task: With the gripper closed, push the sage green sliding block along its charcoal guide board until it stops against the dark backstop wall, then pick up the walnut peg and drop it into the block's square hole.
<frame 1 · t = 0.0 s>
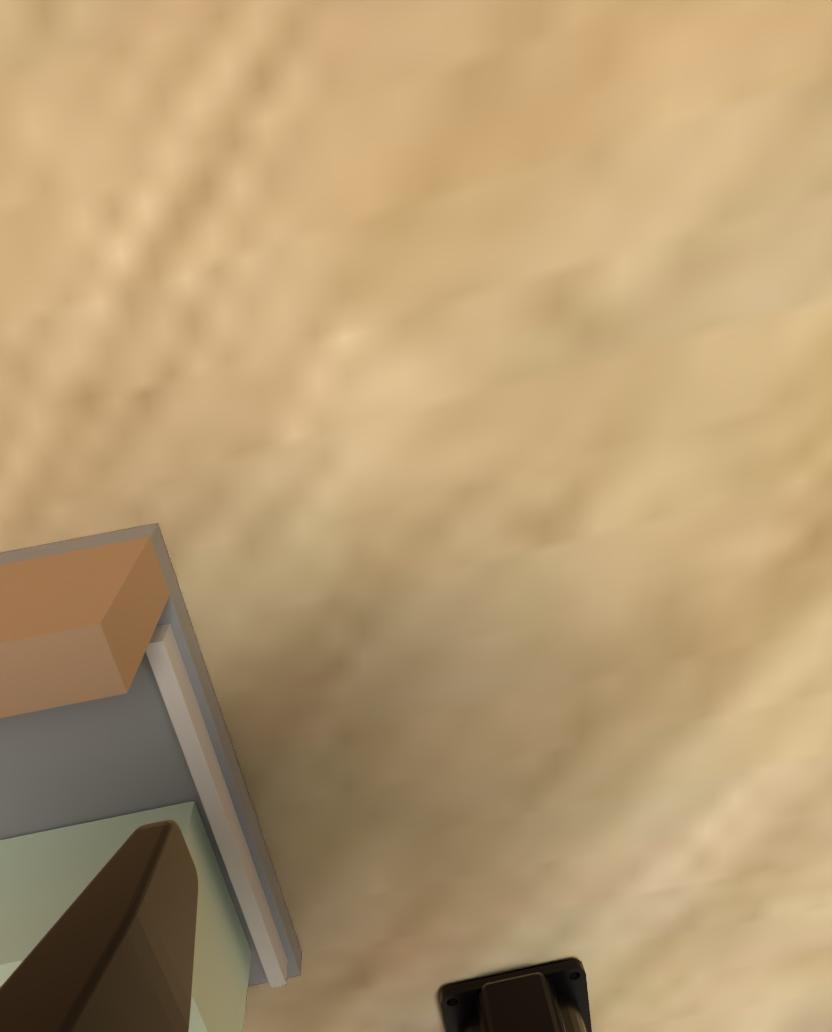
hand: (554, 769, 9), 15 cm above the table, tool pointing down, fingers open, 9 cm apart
guide board: (62, 805, 26), on the table
sliding block: (67, 974, 24), point 4 cm above the table, slide at 0.0 cm
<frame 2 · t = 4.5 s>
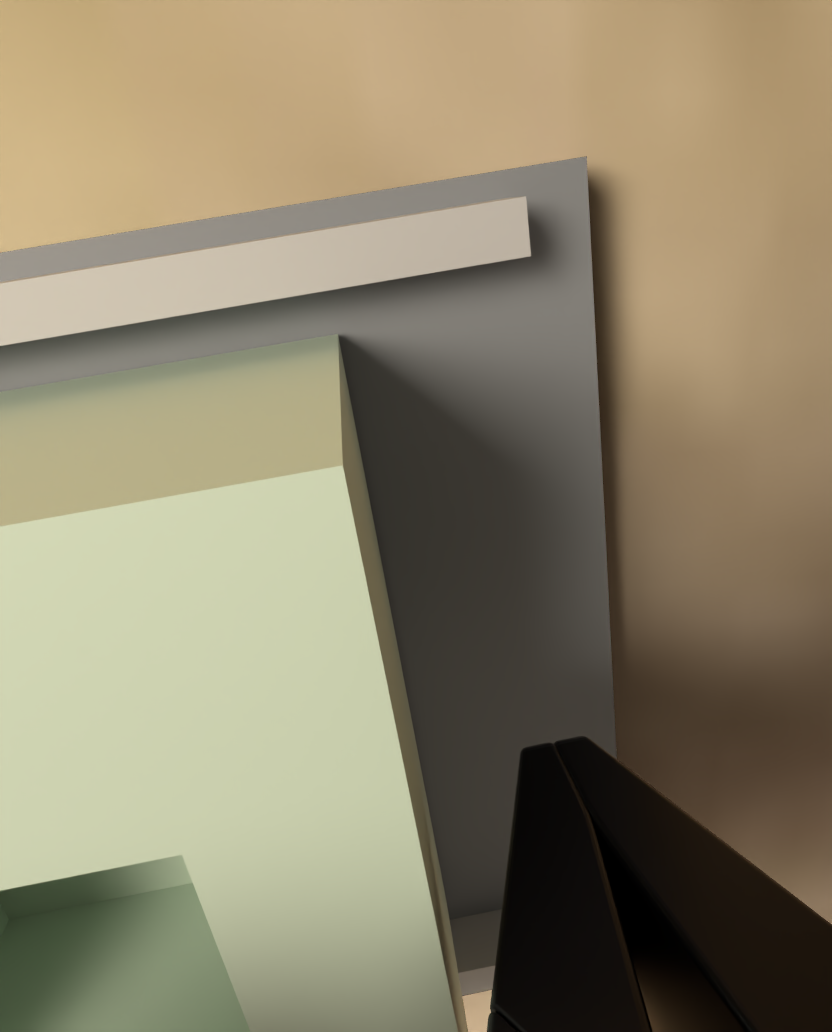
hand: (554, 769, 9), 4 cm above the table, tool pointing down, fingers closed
sliding block: (80, 860, 8), point 4 cm above the table, slide at 1.2 cm, touching gripper
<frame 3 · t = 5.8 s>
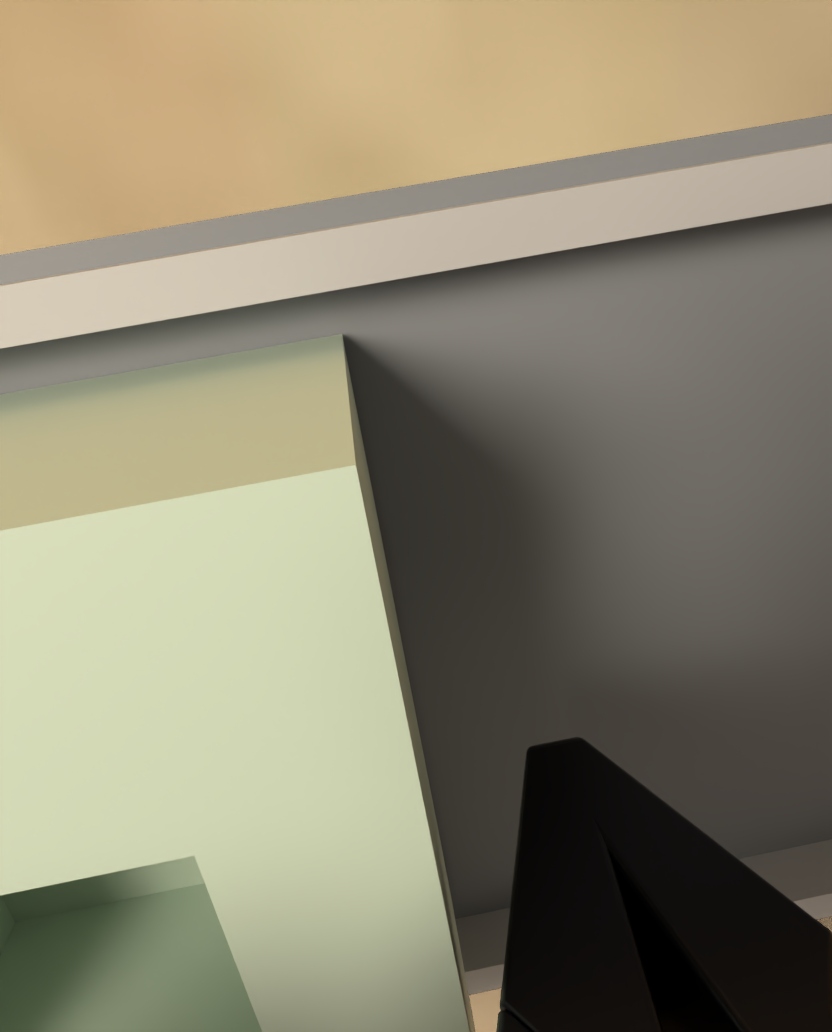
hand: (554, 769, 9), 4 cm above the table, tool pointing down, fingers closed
guide board: (392, 632, 12), on the table
sliding block: (88, 862, 8), point 4 cm above the table, slide at 7.9 cm, touching gripper
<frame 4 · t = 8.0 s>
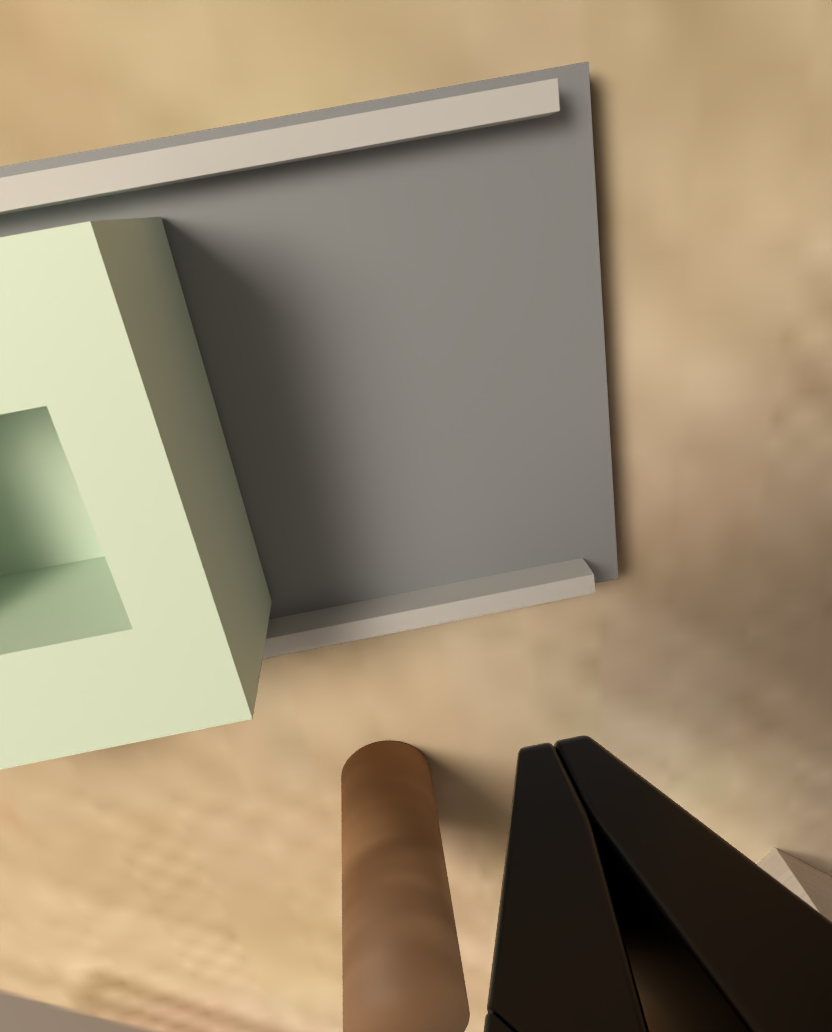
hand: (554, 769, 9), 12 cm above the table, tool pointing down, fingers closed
tea bag: (795, 901, 29), on the table
walnut peg: (386, 776, 24), on the table
guide board: (222, 420, 19), on the table
sliding block: (22, 498, 16), point 4 cm above the table, slide at 7.8 cm
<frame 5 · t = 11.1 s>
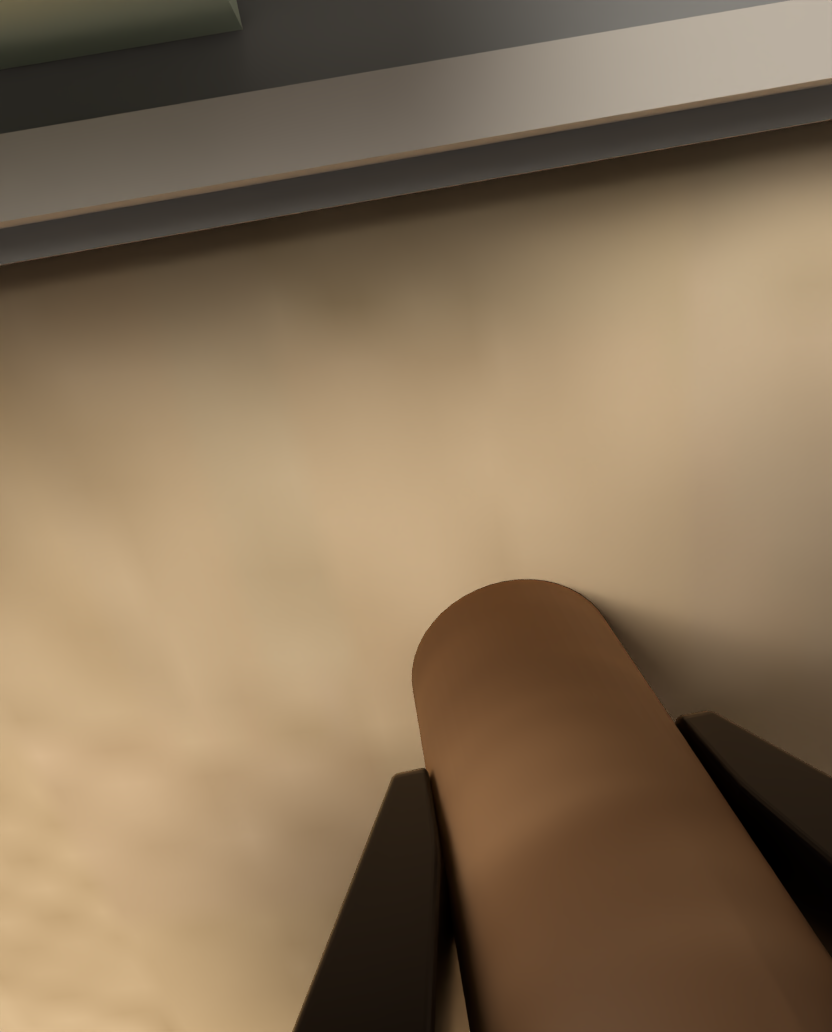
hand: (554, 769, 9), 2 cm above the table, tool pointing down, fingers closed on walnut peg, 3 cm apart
walnut peg: (514, 671, 10), on the table, touching gripper
when the fingers open (7 cm above the table, at t = 14.5 s): walnut peg drops 3 cm, resting on sliding block.
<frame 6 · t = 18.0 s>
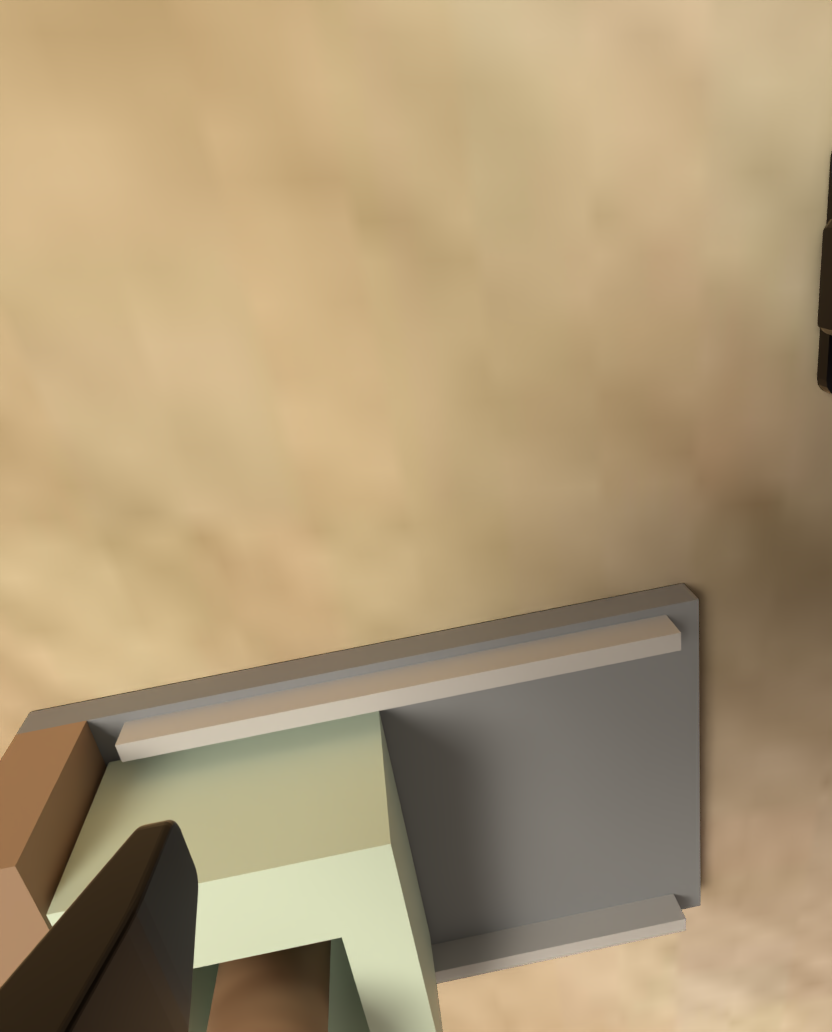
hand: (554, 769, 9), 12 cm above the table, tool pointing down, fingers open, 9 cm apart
walnut peg: (283, 885, 22), point 2 cm above the table, touching sliding block
guide board: (398, 807, 24), on the table
sliding block: (278, 927, 21), point 4 cm above the table, slide at 7.8 cm, touching walnut peg
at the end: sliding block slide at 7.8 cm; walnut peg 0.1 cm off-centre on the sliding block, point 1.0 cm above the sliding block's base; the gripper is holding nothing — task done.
